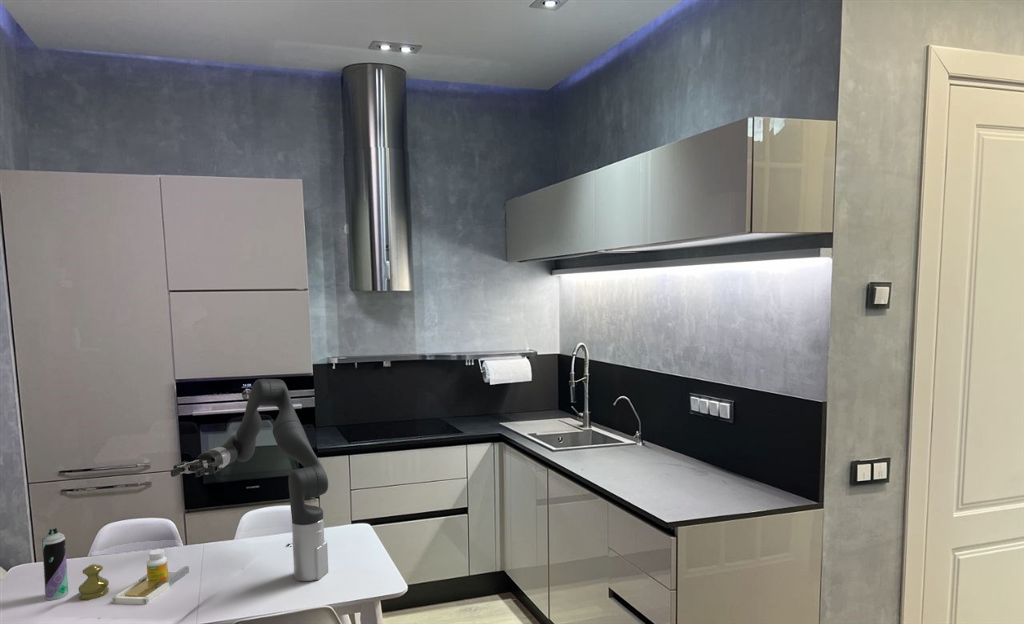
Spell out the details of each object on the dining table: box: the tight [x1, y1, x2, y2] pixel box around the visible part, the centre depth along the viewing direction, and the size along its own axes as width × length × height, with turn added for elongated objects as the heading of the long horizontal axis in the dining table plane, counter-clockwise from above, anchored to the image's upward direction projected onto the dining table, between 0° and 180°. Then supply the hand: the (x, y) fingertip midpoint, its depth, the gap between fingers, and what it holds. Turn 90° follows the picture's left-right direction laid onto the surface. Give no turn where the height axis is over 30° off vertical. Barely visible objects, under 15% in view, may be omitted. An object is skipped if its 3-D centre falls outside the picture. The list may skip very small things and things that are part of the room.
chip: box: [136, 581, 159, 595], centre depth 189 cm, size 4×4×3 cm
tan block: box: [125, 587, 148, 597], centre depth 185 cm, size 4×4×3 cm
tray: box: [111, 581, 170, 605], centre depth 186 cm, size 10×10×3 cm
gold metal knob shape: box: [78, 563, 110, 601], centre depth 188 cm, size 7×7×10 cm
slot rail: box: [137, 565, 190, 588], centre depth 196 cm, size 10×9×4 cm
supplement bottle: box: [146, 548, 169, 588], centre depth 193 cm, size 5×5×10 cm
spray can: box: [41, 527, 69, 601], centre depth 190 cm, size 6×6×20 cm
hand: (184, 473), depth 208 cm, fingers open, 8 cm apart
